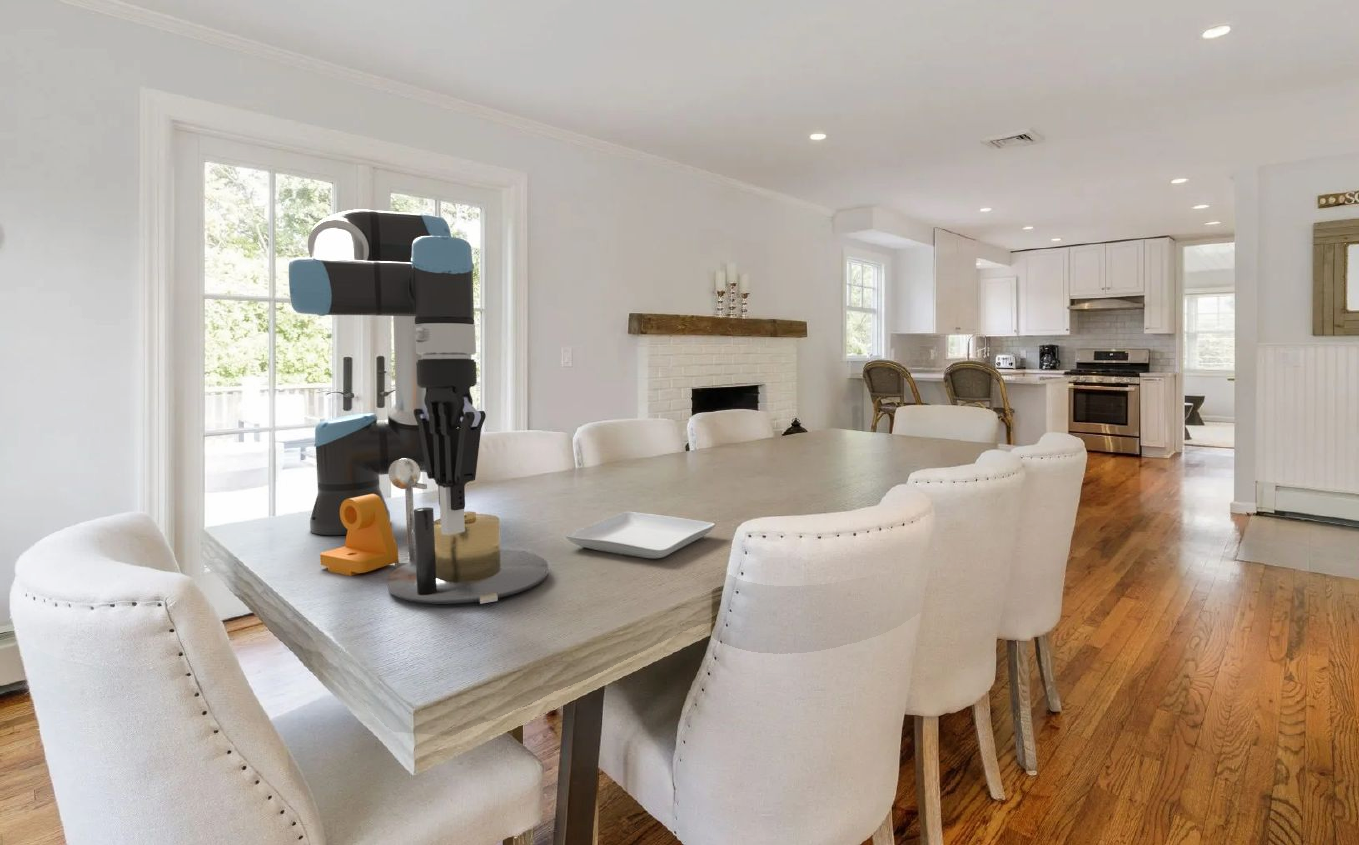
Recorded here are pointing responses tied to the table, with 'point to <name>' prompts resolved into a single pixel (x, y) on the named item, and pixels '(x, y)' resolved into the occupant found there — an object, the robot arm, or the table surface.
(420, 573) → the turntable
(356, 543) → the bracket
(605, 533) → the salad plate
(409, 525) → the stand
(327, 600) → the table surface
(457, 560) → the cover
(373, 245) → the robot arm
